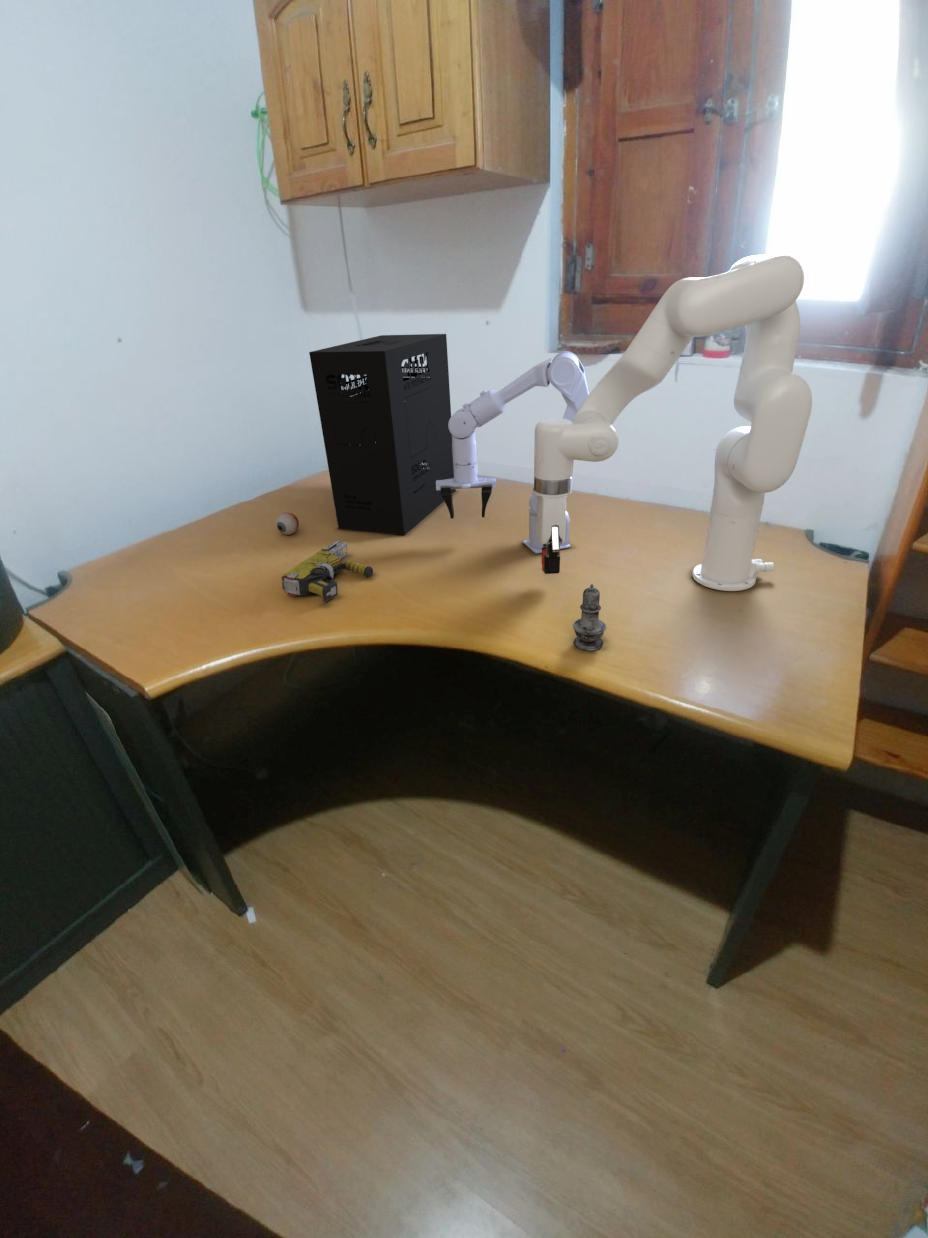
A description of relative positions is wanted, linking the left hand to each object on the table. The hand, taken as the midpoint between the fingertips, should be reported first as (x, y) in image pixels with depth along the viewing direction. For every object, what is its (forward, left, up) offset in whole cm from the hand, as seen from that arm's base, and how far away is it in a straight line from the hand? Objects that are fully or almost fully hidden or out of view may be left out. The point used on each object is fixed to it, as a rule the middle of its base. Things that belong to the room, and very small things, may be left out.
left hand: (467, 516), depth 150 cm
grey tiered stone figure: (-4, +54, -7) cm, 54 cm away
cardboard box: (+10, -33, -7) cm, 36 cm away
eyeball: (+43, -27, -7) cm, 51 cm away
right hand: (-8, +30, -3) cm, 31 cm away
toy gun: (+34, +7, -7) cm, 36 cm away
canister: (-8, +30, -3) cm, 31 cm away
